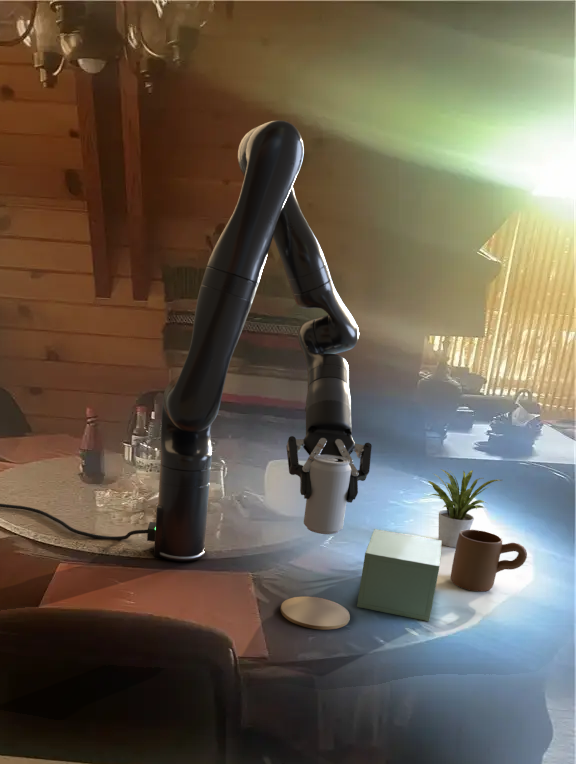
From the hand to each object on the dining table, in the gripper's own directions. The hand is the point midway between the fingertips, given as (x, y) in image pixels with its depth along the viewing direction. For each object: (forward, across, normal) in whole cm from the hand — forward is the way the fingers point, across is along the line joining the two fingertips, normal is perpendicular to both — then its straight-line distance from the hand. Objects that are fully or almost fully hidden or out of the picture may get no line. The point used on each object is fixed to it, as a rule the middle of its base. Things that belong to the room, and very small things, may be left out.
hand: (329, 498), depth 120 cm
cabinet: (+10, +14, +16) cm, 24 cm away
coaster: (+16, -1, +9) cm, 19 cm away
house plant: (-13, +35, +39) cm, 54 cm away
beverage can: (+3, 0, +5) cm, 6 cm away
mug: (+4, +33, +22) cm, 40 cm away
